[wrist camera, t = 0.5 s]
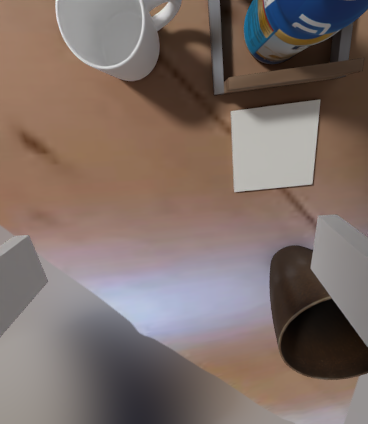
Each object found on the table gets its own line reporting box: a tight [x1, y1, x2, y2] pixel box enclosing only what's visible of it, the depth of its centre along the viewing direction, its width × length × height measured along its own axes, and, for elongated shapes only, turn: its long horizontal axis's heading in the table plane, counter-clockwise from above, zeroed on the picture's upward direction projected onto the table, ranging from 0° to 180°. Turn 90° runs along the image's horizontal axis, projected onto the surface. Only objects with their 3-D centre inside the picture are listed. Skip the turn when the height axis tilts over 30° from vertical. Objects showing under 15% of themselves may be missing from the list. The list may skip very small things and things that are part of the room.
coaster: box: [231, 99, 321, 192], centre depth 35 cm, size 12×12×1 cm
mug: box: [56, 0, 182, 81], centre depth 25 cm, size 12×8×10 cm
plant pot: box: [270, 246, 368, 380], centre depth 35 cm, size 15×15×16 cm
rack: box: [208, 0, 364, 95], centre depth 26 cm, size 13×16×7 cm
